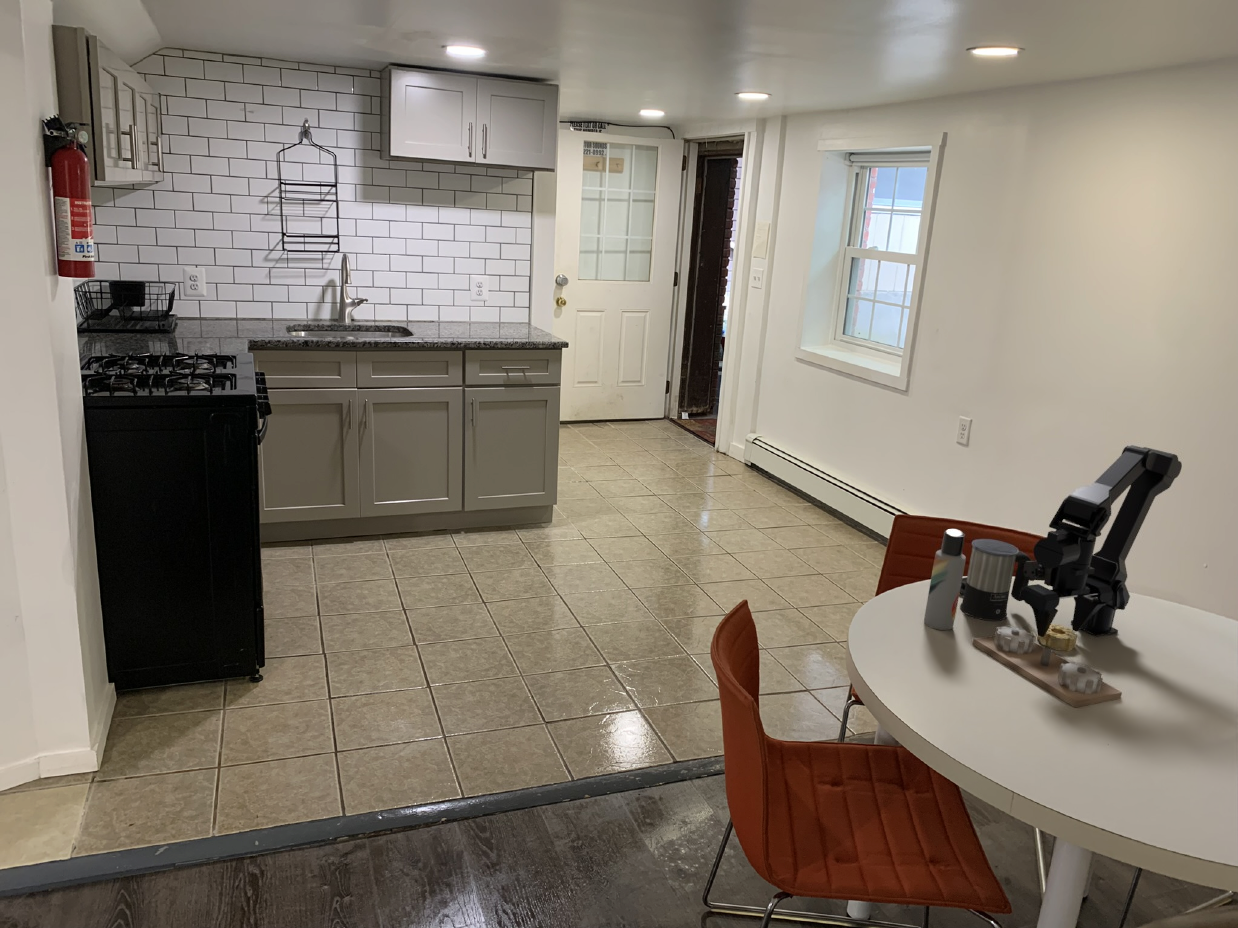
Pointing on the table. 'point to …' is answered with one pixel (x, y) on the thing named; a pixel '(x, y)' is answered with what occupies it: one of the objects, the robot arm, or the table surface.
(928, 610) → the lotion bottle
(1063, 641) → the brass gear
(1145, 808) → the table surface
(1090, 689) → the gear board
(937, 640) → the table surface
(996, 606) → the milk frother
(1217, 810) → the table surface
